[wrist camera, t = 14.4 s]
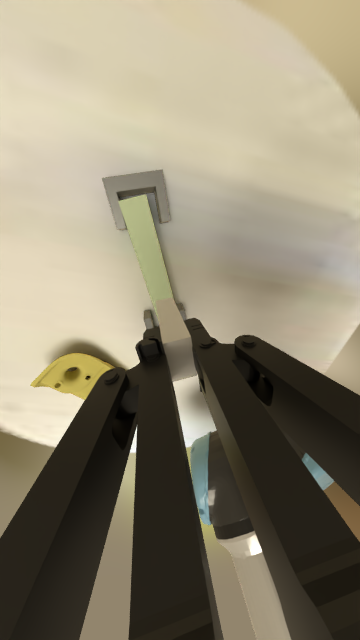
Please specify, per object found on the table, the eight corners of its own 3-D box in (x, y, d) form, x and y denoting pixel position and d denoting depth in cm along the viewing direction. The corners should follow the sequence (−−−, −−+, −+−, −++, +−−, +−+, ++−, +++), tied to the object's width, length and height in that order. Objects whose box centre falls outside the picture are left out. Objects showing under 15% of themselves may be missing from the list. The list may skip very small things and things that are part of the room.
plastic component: (147, 391, 39) (116, 430, 37) (136, 376, 45) (108, 409, 43) (72, 342, 29) (21, 392, 26) (70, 332, 35) (28, 371, 32)
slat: (122, 206, 25) (118, 201, 20) (145, 201, 25) (145, 194, 21) (160, 321, 34) (162, 333, 30) (176, 316, 35) (181, 328, 30)
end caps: (184, 326, 36) (188, 335, 33) (150, 334, 35) (151, 344, 32) (160, 177, 24) (162, 169, 21) (107, 185, 23) (101, 178, 20)
